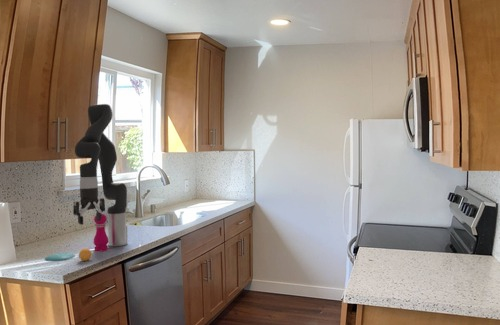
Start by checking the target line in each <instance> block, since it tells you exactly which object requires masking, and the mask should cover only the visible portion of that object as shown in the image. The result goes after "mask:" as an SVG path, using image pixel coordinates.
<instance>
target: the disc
mask: <svg viewBox="0 0 500 325" xmlns="http://www.w3.org/2000/svg"><path fill="white" fill-rule="evenodd" d="M73 258H75V253H71V252H68V253H67V252H66V253H64V252H63V253H57V254H51V255H48V256H46V257H45V258H44V259H45V261H47V262H58V261H59V262H60V261H67V260H69V259H70V260H71V259H73Z"/></svg>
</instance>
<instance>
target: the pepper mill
mask: <svg viewBox="0 0 500 325" xmlns="http://www.w3.org/2000/svg"><path fill="white" fill-rule="evenodd" d="M107 221H108V217H107V216H106V215H105V214H103V212H102V213H101V221H99V222H98V221H96V215H95V216H94V218H93V222H94V223H95V224H94V225H95V228H96V231H95V236H94V237H93V243H92V244H93V245H94V251H95V252H105V251H108V249H109V245H108V235H107V233H106V224H107V223H106V222H107Z"/></svg>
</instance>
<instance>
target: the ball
mask: <svg viewBox="0 0 500 325" xmlns="http://www.w3.org/2000/svg"><path fill="white" fill-rule="evenodd" d="M92 255H93V253H92V250H90V249H89V248H83V249H81V250H80V251H79V253H78V257H79V259H80V260H81V261H83V262H86V261H89V260H90V259H91V258H92Z"/></svg>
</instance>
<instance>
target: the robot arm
mask: <svg viewBox="0 0 500 325" xmlns="http://www.w3.org/2000/svg"><path fill="white" fill-rule="evenodd" d="M87 115H88V120H89V124H90V126H89V127H88V128H87V129H86V131H85V134H84V136H82V137H81V139H79V141H77V143H76V144H75V148H74V154H75V155H76V157H77V158H79V159H90V161H88V162H86V163H82V164H80V166H79V198H80V201H75V200H74V201H73V210H72V211H73V212H72V214H73V216H77V222H78V224H79V225H81V226H82V225H84V214H85V212H87V211H89V210H94V211H95V212H96V214H95V216H96V221H98V222H99V221H101V213H102V214H103V212H105V211H106V204H105V202H106V201H105V200H110V201H115V202H114V204H113V205H112V206H111V205H110V206H109V207H107V234H108V235H107V237H108V244H107V246H108V247H109V246H110V247H121V246H125V245H127V243H128V242H129V240H128V224H127V218H126V217H127V216H126V214H127V213H126V212H127V211H126V210H127V202H128V200H127V198H128V190H127V186H126V184H125V183H124V182H114V181H113V180H114V179H113V170H114V168H115V167H116V163H117V160H118V154H117V152H116V147H115V144H114V142H113V141H111V139H110V138H109V137H108V136H107V135H106V134H105V133H104V132H105V130H106V129H107V127H108V126H109V124H110V123H111V122H112V119H113V116H114V115H113V109H112V107H111V105H110V104H107V103H102V104H91V105H89V106H88V107H87ZM98 164H99V167H100V174H101V175H100V176H101V183H102V192H103V195H104V197H103V198H102V197H99V185H98V184H99V183H98ZM98 203H99V205H98Z"/></svg>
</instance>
